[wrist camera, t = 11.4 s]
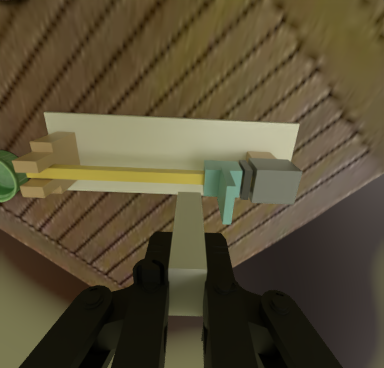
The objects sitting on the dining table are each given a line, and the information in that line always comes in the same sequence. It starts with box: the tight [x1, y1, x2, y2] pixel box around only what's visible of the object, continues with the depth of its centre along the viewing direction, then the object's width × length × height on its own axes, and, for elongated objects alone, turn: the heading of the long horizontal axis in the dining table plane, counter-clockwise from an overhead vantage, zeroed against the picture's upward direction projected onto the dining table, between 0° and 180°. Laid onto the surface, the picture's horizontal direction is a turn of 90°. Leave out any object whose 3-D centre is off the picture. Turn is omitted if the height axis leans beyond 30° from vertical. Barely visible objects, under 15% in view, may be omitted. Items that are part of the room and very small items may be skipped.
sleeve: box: [203, 160, 243, 224], centre depth 30 cm, size 5×5×10 cm
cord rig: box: [12, 112, 302, 204], centre depth 36 cm, size 14×42×12 cm, turn 87°
